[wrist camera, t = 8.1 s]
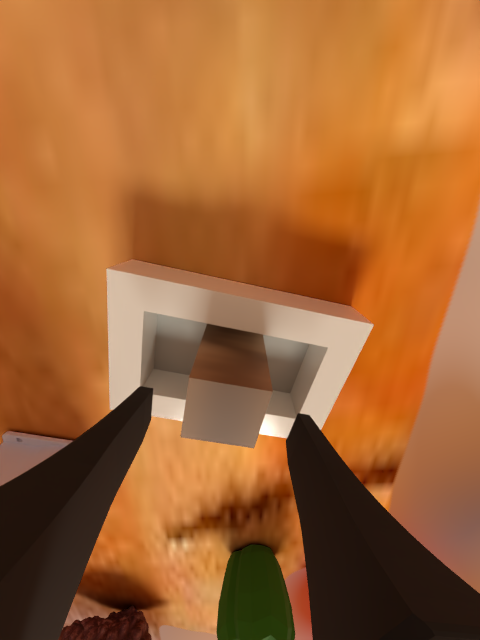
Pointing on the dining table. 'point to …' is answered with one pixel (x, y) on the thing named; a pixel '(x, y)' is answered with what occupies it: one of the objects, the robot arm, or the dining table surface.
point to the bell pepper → (254, 598)
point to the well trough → (232, 312)
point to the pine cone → (109, 627)
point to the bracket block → (227, 388)
